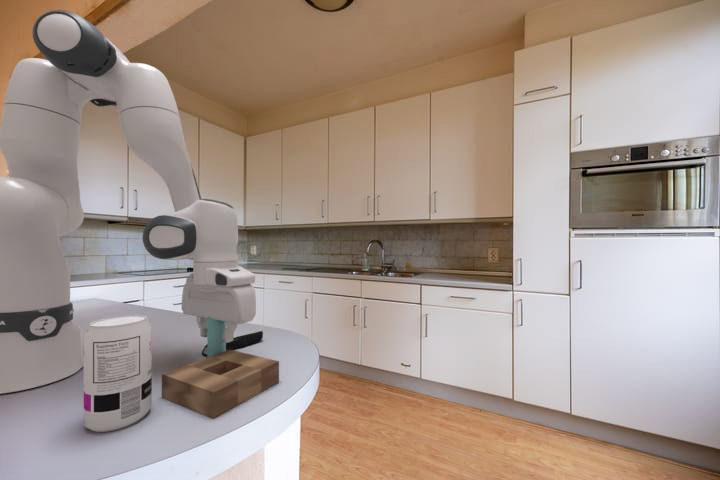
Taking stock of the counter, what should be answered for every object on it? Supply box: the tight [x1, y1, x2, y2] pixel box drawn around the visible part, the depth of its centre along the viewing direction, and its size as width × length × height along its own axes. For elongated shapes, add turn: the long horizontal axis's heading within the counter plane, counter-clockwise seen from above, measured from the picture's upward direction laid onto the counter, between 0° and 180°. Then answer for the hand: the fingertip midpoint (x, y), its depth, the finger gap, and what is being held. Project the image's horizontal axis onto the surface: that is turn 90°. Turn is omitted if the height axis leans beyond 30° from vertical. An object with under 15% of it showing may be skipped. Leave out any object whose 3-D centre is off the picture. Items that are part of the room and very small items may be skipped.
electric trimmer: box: [201, 330, 264, 358], centre depth 80 cm, size 4×16×3 cm, turn 140°
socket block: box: [161, 349, 280, 419], centre depth 57 cm, size 14×14×4 cm
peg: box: [206, 317, 227, 358], centre depth 67 cm, size 4×4×12 cm
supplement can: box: [83, 314, 153, 433], centre depth 48 cm, size 8×8×15 cm
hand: (216, 338), depth 67 cm, fingers open, 6 cm apart
